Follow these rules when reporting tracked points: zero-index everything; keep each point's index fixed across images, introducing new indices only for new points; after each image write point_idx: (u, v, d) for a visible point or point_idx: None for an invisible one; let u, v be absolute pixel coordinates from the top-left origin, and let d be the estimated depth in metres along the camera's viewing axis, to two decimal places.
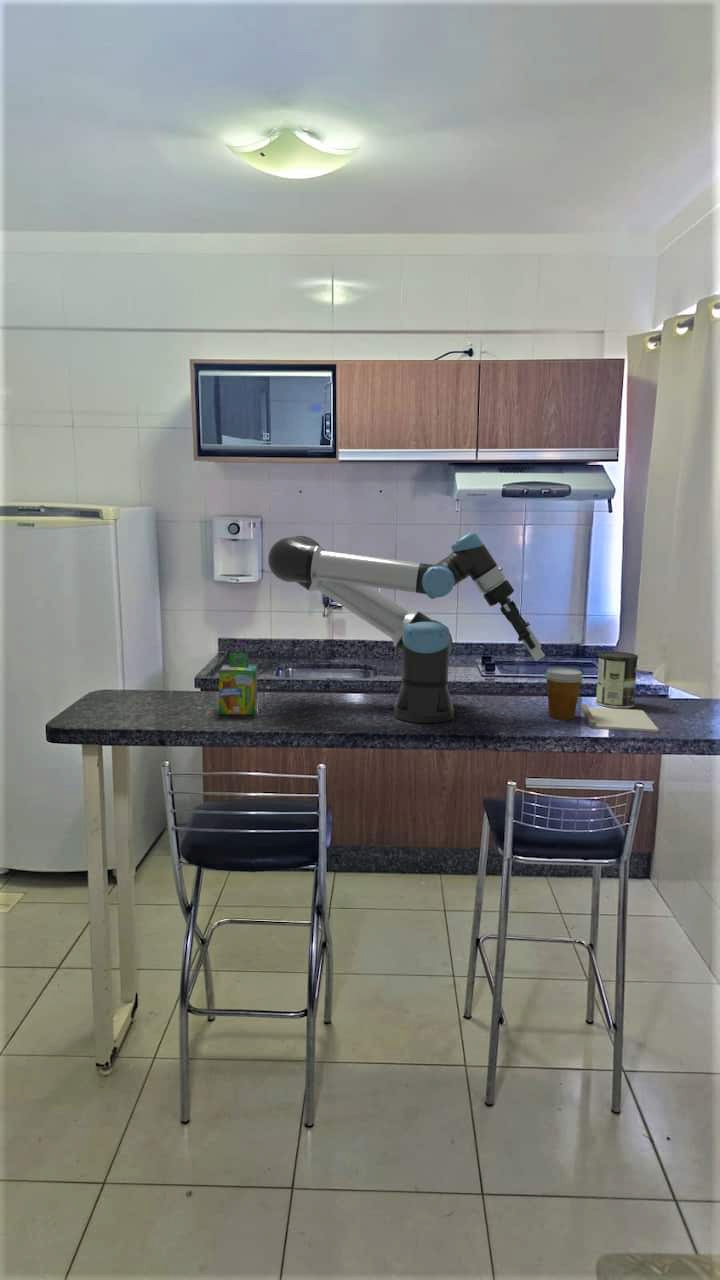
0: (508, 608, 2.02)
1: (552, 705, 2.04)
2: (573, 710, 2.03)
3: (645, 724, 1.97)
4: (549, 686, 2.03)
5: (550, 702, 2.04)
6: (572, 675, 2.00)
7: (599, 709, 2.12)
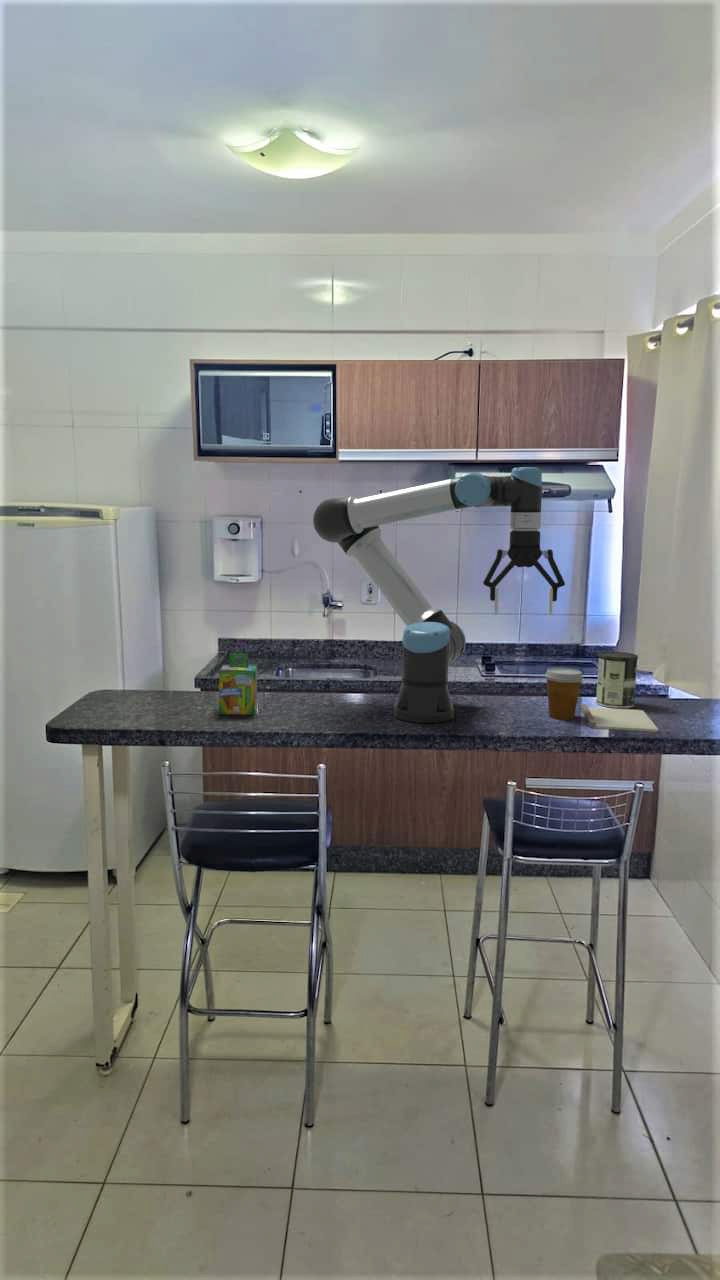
0: (497, 554, 2.02)
1: (552, 705, 2.04)
2: (573, 710, 2.03)
3: (645, 724, 1.97)
4: (549, 686, 2.03)
5: (550, 702, 2.04)
6: (572, 675, 2.00)
7: (599, 709, 2.12)
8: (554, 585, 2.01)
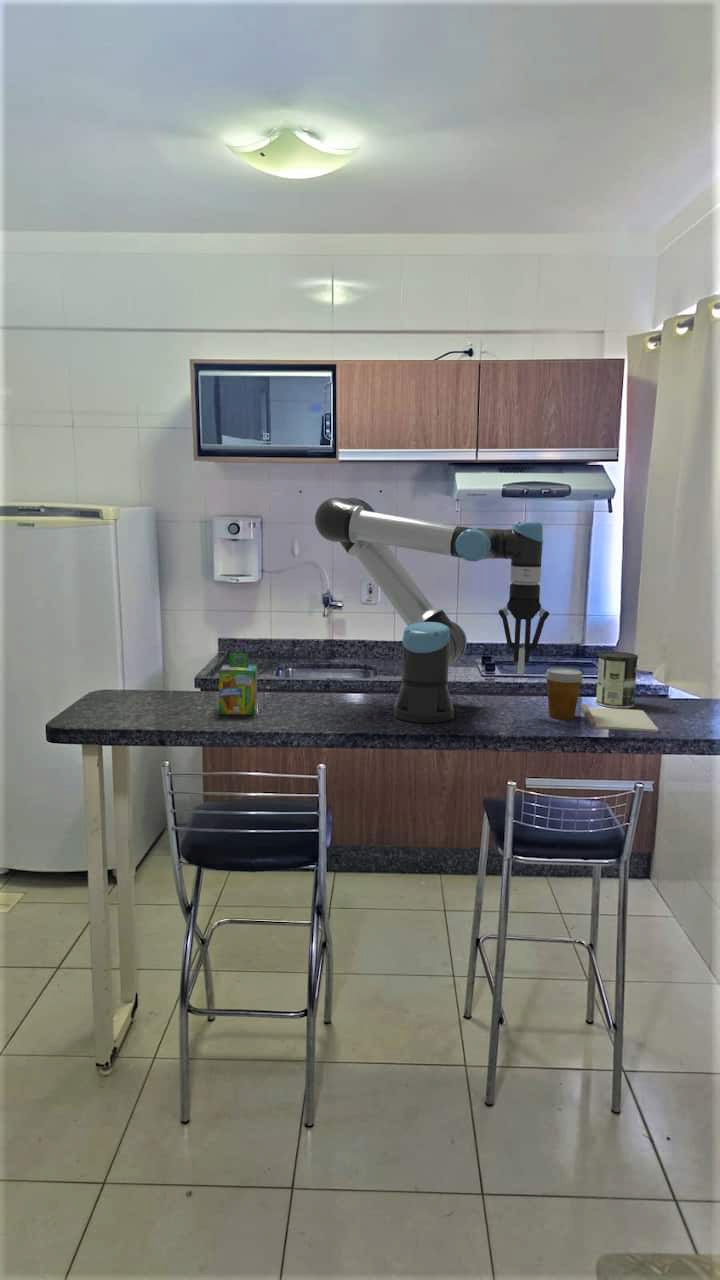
0: None
1: (552, 705, 2.04)
2: (573, 710, 2.03)
3: (645, 724, 1.97)
4: (549, 686, 2.03)
5: (550, 702, 2.04)
6: (572, 675, 2.00)
7: (599, 709, 2.12)
8: (527, 646, 2.03)
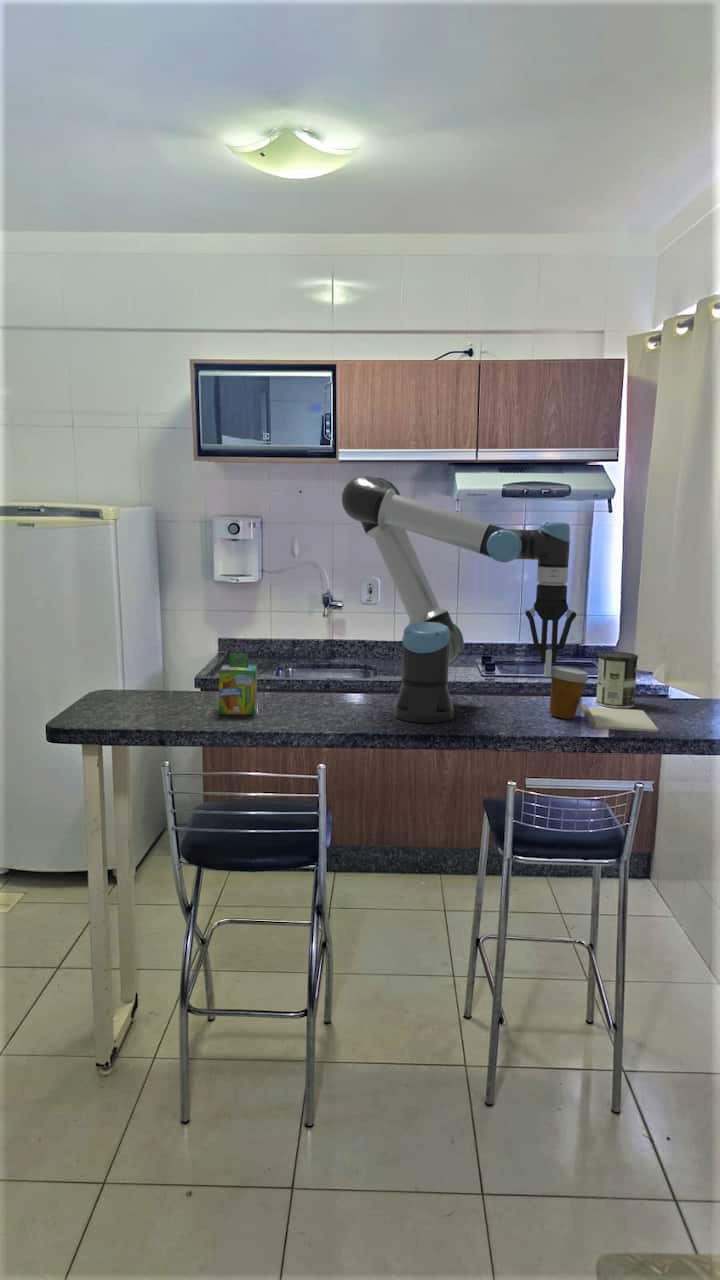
0: None
1: (554, 702, 2.03)
2: (574, 710, 2.03)
3: (645, 724, 1.97)
4: (553, 683, 2.03)
5: (552, 699, 2.04)
6: (578, 675, 2.00)
7: (599, 709, 2.12)
8: (554, 647, 2.02)
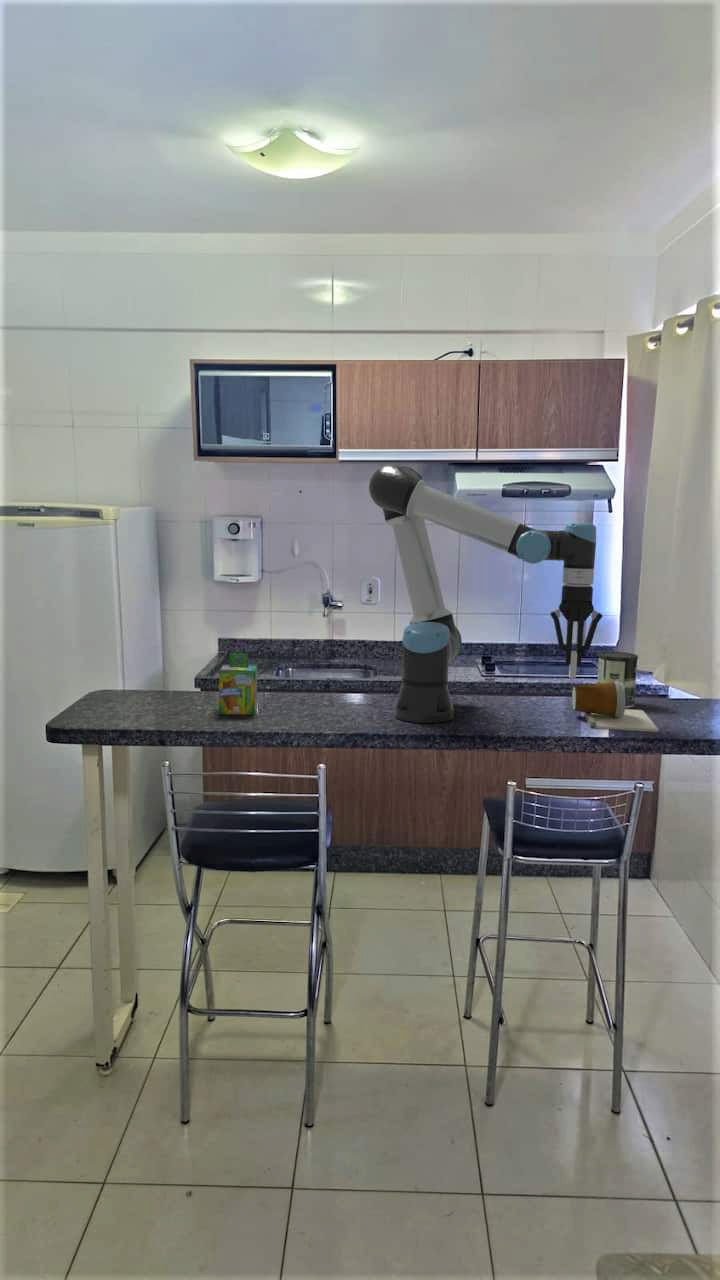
0: None
1: (588, 690, 2.02)
2: (583, 710, 2.03)
3: (645, 724, 1.97)
4: (608, 686, 2.02)
5: (591, 688, 2.02)
6: (623, 709, 2.00)
7: None
8: (579, 649, 2.01)
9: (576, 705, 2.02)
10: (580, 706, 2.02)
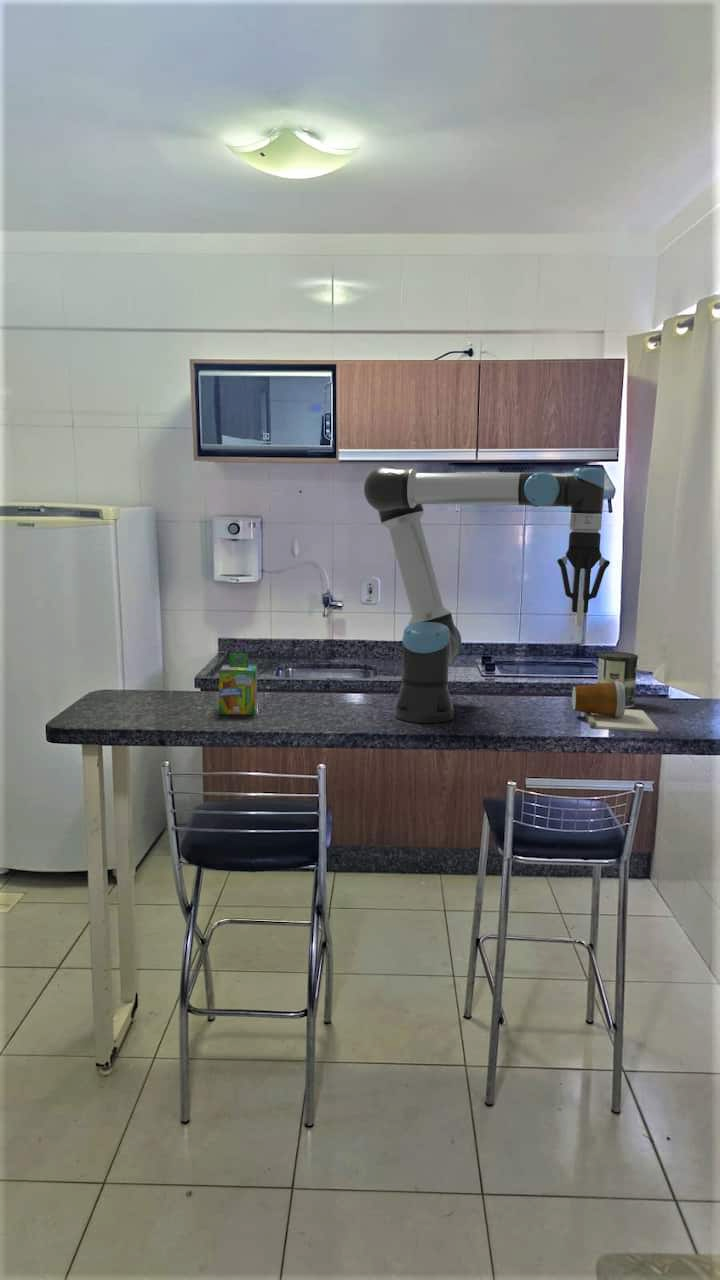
0: (559, 564, 2.00)
1: (588, 690, 2.02)
2: (583, 710, 2.03)
3: (645, 724, 1.97)
4: (608, 686, 2.02)
5: (591, 688, 2.02)
6: (623, 709, 2.00)
7: None
8: (586, 596, 1.99)
9: (576, 705, 2.02)
10: (580, 706, 2.02)
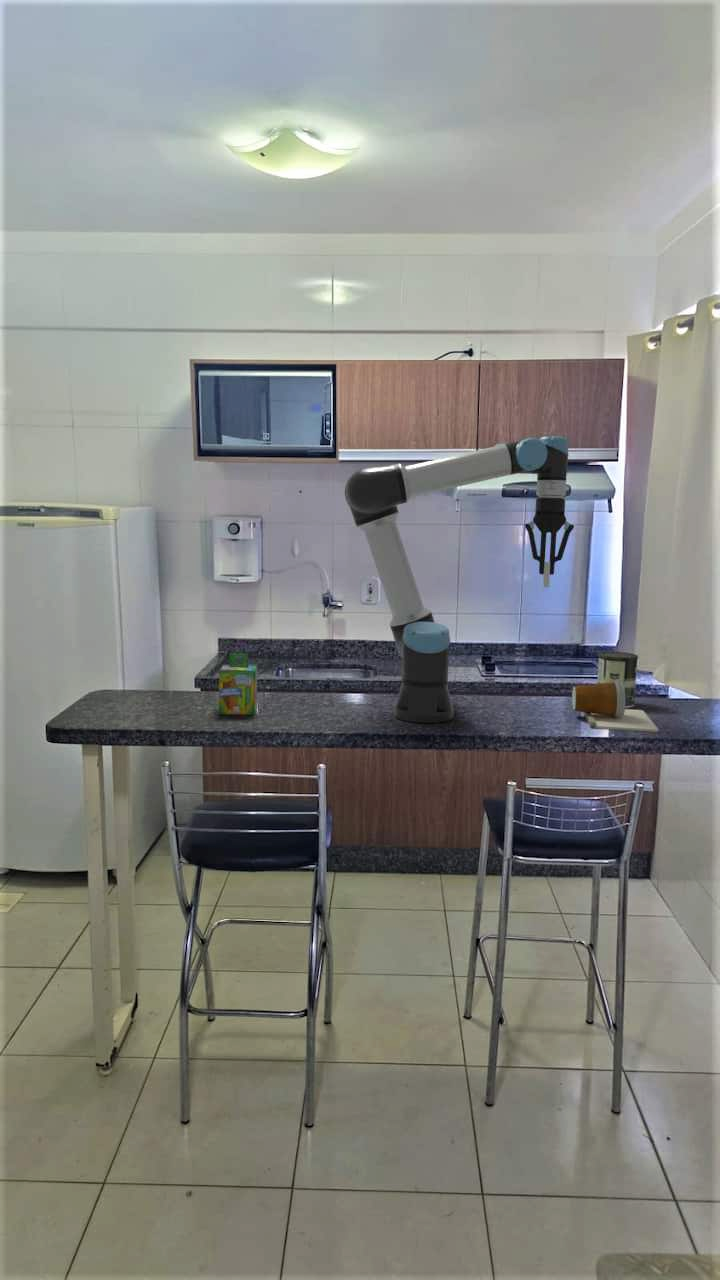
0: (526, 529, 2.12)
1: (588, 690, 2.02)
2: (584, 710, 2.03)
3: (645, 724, 1.97)
4: (608, 686, 2.02)
5: (591, 688, 2.02)
6: (623, 709, 2.00)
7: None
8: (552, 559, 2.11)
9: (576, 705, 2.02)
10: (580, 706, 2.02)
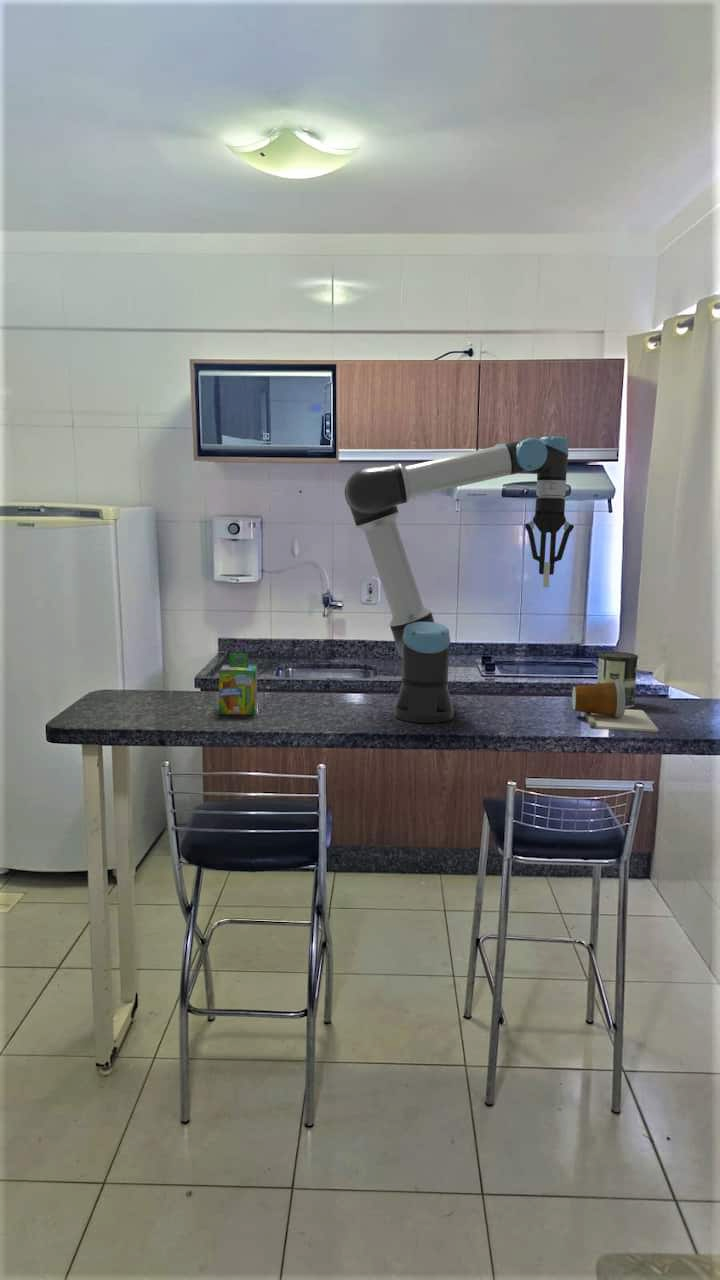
0: (526, 529, 2.12)
1: (588, 690, 2.02)
2: (584, 710, 2.03)
3: (645, 724, 1.97)
4: (608, 686, 2.02)
5: (591, 688, 2.02)
6: (623, 709, 2.00)
7: None
8: (552, 559, 2.11)
9: (576, 705, 2.02)
10: (580, 706, 2.02)
